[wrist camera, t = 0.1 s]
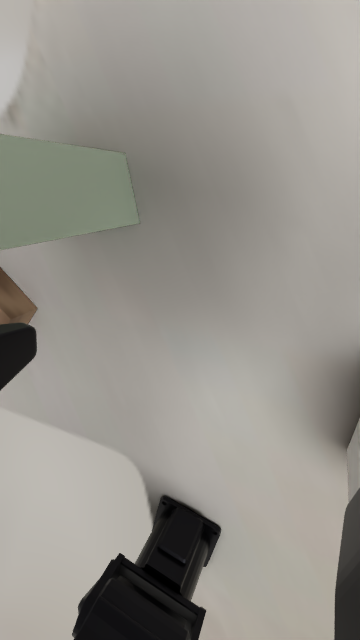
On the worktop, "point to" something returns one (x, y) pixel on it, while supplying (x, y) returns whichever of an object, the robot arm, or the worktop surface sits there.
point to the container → (354, 463)
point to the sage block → (60, 191)
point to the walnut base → (14, 302)
